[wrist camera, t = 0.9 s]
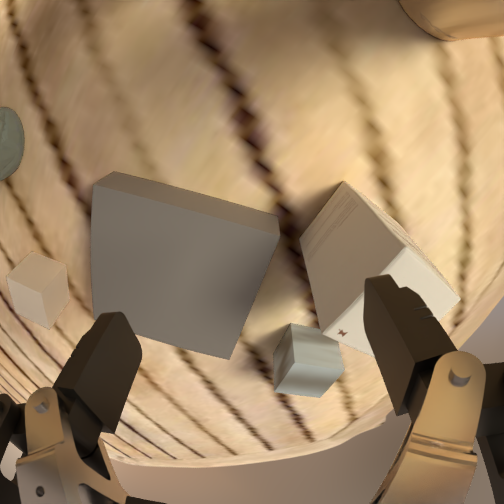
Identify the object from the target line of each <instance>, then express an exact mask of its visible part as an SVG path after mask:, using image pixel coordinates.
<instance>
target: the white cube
mask: <svg viewBox="0 0 504 504" xmlns="http://www.w3.org/2000/svg"><path fill="white" fill-rule="evenodd" d="M6 279H7V283H8V287H9V291H10V295H11V298H12V302H13V305H14V308H15V312H16V313H17V314H19V315H21V316H23V317H25V318H27V319H29V320H31V321H33V322H35V323H37V324H39V325H41V326H43V327H45V328H47V329H49V330H50V329H51V327H52V326H53V324H54V323H55V321H56V320H57V318H58V317H59V315H60V314H61V312H62V311H63V309H64V308H65V307H66V305H67V304H68V302H69V301H70V296H69V288H68V278H67V268H66V264H64V263H61V262H59V261H56V260H53V259H51V258H48V257H46V256H43V255H41V254H38V253H35V252H33V251H31V252H30V253H29V254H28V255H27V256H26V257H25V258H24V259H23V260H22V261H21V262H20V263H19V264H18V265H17V266H16V267H15V268H14V269H13V270H12V271H11V272H10V273H9V274H8V275H7V276H6Z"/></svg>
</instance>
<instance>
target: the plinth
mask: <svg viewBox="0 0 504 504" xmlns="http://www.w3.org/2000/svg"><path fill="white" fill-rule="evenodd" d="M279 238H280V229H279V222H278V216H275V215H272V214H269V213H266V212H262V211H259V210H256V209H252V208H249V207H245V206H242V205H239V204H235V203H232V202H228V201H225V200H221V199H218V198H214V197H211V196H207V195H203V194H200V193H196V192H193V191H189V190H185V189H181V188H178V187H174V186H170V185H166V184H162V183H159V182H155V181H151V180H147V179H143V178H139V177H135V176H131V175H127V174H123V173H118V172H112V173H111V174H109V175H107V176H106V177H104V178H103V179H101V180H100V181H98V182H96V183H95V184H93V196H92V213H91V283H92V300H93V313H94V320H97V318H98V317H99V315H100V314H101V313H107V312H119V311H120V312H122V313H124V315H125V316H126V318H127V320H128V322H129V324H130V326H131V328H132V330H133V332H134V334H137V335H140V336H143V337H146V338H149V339H153V340H156V341H159V342H163V343H166V344H169V345H173V346H176V347H180V348H184V349H187V350H191V351H195V352H199V353H203V354H207V355H211V356H215V357H219V358H223V359H228V360H229V359H230V357H231V355H232V352H233V350H234V348H235V345H236V343H237V340H238V338H239V336H240V333H241V331H242V329H243V326H244V324H245V321H246V319H247V317H248V314H249V312H250V309H251V307H252V305H253V302H254V300H255V297H256V295H257V293H258V290H259V288H260V285H261V283H262V280H263V278H264V276H265V273H266V271H267V268H268V266H269V263H270V261H271V258H272V256H273V253H274V251H275V248H276V246H277V243H278V241H279Z"/></svg>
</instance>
